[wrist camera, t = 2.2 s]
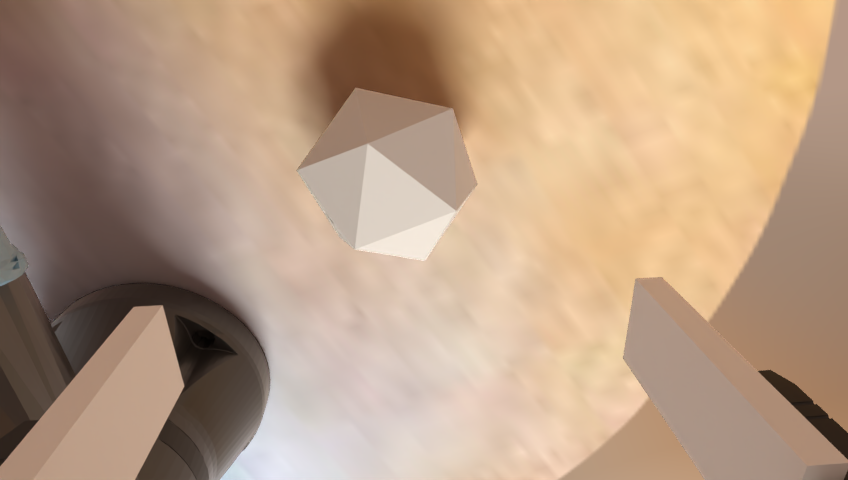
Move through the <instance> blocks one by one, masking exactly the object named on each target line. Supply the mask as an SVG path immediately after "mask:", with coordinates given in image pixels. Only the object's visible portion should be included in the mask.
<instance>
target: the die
mask: <svg viewBox="0 0 848 480" xmlns="http://www.w3.org/2000/svg"><path fill="white" fill-rule="evenodd" d="M297 172H298V173H299V175H300V177H301V178H302V180H303V181H304V183H305V184H306V186H307V187H308V189H309V191H310V192H311V194H312V195H313V197H314V198H315V200H316V201H317V203H318V205H319V206H320V208H321V209H322V211H323V212H324V214H325V215H326V217H327V219H328V220H329V222H330V223H331V225H332V226H333V228H334V229H335V231H336V233H337V234H338V236H339V237H340V238H341V239H342V240H344V241H345V242H346V243H347V244H349V245H350V246H351V247H352V248H353V249H355V250H360V251H367V252H373V253H379V254H385V255H392V256H398V257H404V258H410V259H416V260H423V261H425V260H426V259H427V257H428V256H429V254H430V253H431V252H432V250H433V249H434V247H435V246H436V244H437V243H438V241H439V240H440V238H441V237H442V235H443V234H444V232H445V231H446V230H447V228H448V227H449V225H450V224H451V222H452V221H453V219H454V218H455V216H456V215H457V213H458V212H459V211H460V209H461V208H462V206H463V205H464V203H465V202H466V200H467V199H468V197H469V196H470V194H471V193H472V191H473V190H474V189H475V187H476V186H477V182H476V179H475V175H474V172H473V169H472V166H471V163H470V160H469V157H468V154H467V151H466V147H465V144H464V141H463V138H462V135H461V132H460V129H459V126H458V123H457V119H456V116H455V113H454V110H453V108H449V107H444V106H439V105H435V104H430V103H425V102H421V101H416V100H411V99H407V98H402V97H397V96H393V95H388V94H383V93H379V92H374V91H369V90H365V89H360V88H355V89H354V90H353V92H352V93H351V95H350V96H349V97H348V99H347V100H346V102H345V103H344V104H343V106H342V107H341V109H340V110H339V111H338V113H337V114H336V116H335V117H334V118H333V120H332V121H331V123H330V124H329V125H328V127H327V128H326V130H325V131H324V132H323V134H322V135H321V137H320V138H319V139H318V141H317V142H316V144H315V145H314V146H313V148H312V149H311V151H310V152H309V153H308V155H307V156H306V158H305V159H304V160H303V162H302V163H301V165H300V166H299V167H298V169H297Z"/></svg>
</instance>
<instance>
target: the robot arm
mask: <svg viewBox="0 0 848 480" xmlns="http://www.w3.org/2000/svg"><path fill="white" fill-rule="evenodd" d="M27 268H28V262H27V260H26V258H25V256H24V254H23V253H22V252H20V251H19V250H18V249H17V248H16V247H15V246H14V245H12V244H11V243H10V242H9V240H8V238H7V236H6V235H5V233H4V231H3V229H2V228H1V226H0V480H220V479H221V477H222V476H223V475H224V474H225V473H226V471H227V470H228V469H229V467H230V466H231V465H232V464H233V462H234V461H235V460H236V458H237V457H238V456H239V454H240V453H241V452H242V451H243V450H244V449H245V448H246V447H247V446H248V445H249V443H250V442H251V440H252V439H253V437H254V435H255V434H256V432H257V430H258V428H259V426H260V423H261V420H262V417H263V414H264V411H265V407H266V404H267V400H268V396H269V390H270V375H269V369H268V365H267V361H266V358H265V356H264V353H263V351H262V349H261V347H260V345H259V344H258V342H257V341H256V339H255V338H254V336H253V335H252V334H251V332H250V331H249V330H248V329H247V328H246V327H245V326H244V325H243V324H242V322H241V321H239V320H238V319H237V318H236V317H235V316H234V315H232V314H231V313H230V312H228V311H227V310H226V309H224V308H223V307H221V306H220V305H218V304H216V303H214V302H213V301H211V300H209V299H207V298H205V297H202V296H200V295H198V294H195V293H192V292H190V291H187V290H183V289H180V288H176V287H171V286H166V285H159V284H146V283H135V284H123V285H117V286H112V287H107V288H104V289H101V290H98V291H95V292H93V293H90V294H88V295H86V296H84V297H82V298H81V299H79V300H77V301H76V302H74V303H73V304H72V305H70V306H69V307H68V308H67V309H66V310H65V311H64V312H63V313H62V314H60V315H59V316H58V317H57V318H56V319H55V320H54V321H53V322H52V323H51V324H50V322H49V320H48V318H47V316H46V314H45V312H44V310H43V308H42V306H41V304H40V302H39V299H38V297H37V295H36V293H35V291H34V289H33V287H32V285H31V283H30V281H29V279H28V277H27V275H26V273H25V271H26V269H27ZM623 359H624V360H625V362H626V363H627V365H628V366H629V368H630V369H631V371H632V372H633V374H634V375H635V377H636V378H637V380H638V381H639V383H640V384H641V386H642V387H643V389H644V390H645V392H646V393H647V395H648V396H649V398H650V399H651V400H652V402H653V403H654V405H655V406H656V408H657V409H658V411H659V412H660V414H661V415H662V417H663V418H664V420H665V421H666V422H667V424H668V426H669V427H670V429H671V430H672V432H673V433H674V435H675V436H676V438H677V439H678V441H679V442H680V444H681V445H682V447H683V448H684V449H685V451H686V452H687V454H688V455H689V457H690V458H691V460H692V461H693V463H694V464H695V466H696V467H697V468H698V470H699V472H700V473H701V475H702V476H703V478H704V479H705V480H848V433H847V432H846V431H845V430H844V429H843V428H842V427H841V426H840V425H839V424H838V423H836V422H835V421H834V420H833V419H829V417H828V414H827V413H826V412H825V411H823V410H822V409H821V408H820V407H819V406H818V405H817V404H816V405H815V404H814V403H813V401H812V399H810V398H809V397H808V396H807V395H806V394H805V393H804V392H803V391H802V390H801V389H800V388H799V387H798V386H796V385H795V384H794V383H792V382H790V381H788V380H787V379H785V378H783V377H782V376H780V375H778V374H776V373H775V372H773V371H771V370H766V371H757V370H756V369H755V368H754V367H753V366H752V365H751V364H750V363H749V362H748V361H747V360H746V359H745V358H744V357H743V356H742V355H741V354H740V353H738V351H737V350H736V349H734V347H733V346H731V345H730V344H729V343H728V342H727V341H726V340H725V339H724V338H723V337H722V336H721V335H720V334H719V333H718V332H717V331H716V330H715V329H714V328H713V327H712V326H711V325H710V324H709V323H708V322H707V321H706V320H705V319H704V318H703V317H702V316H701V315H700V314H699V313H698V312H697V311H696V310H695V309H694V308H693V307H692V306H691V305H690V304H689V303H688V302H687V301H686V300H685V299H684V298H683V297H682V296H681V295H680V294H679V293H678V292H677V291H676V290H675V289H673V288H672V287H671V286H670V285H669V284H668V283H667V282H666V281H665V280H664V279H663V278H662V277H657V278H639V279H636V280H635V286H634V293H633V299H632V305H631V311H630V318H629V324H628V330H627V337H626V343H625V349H624V356H623Z"/></svg>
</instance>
